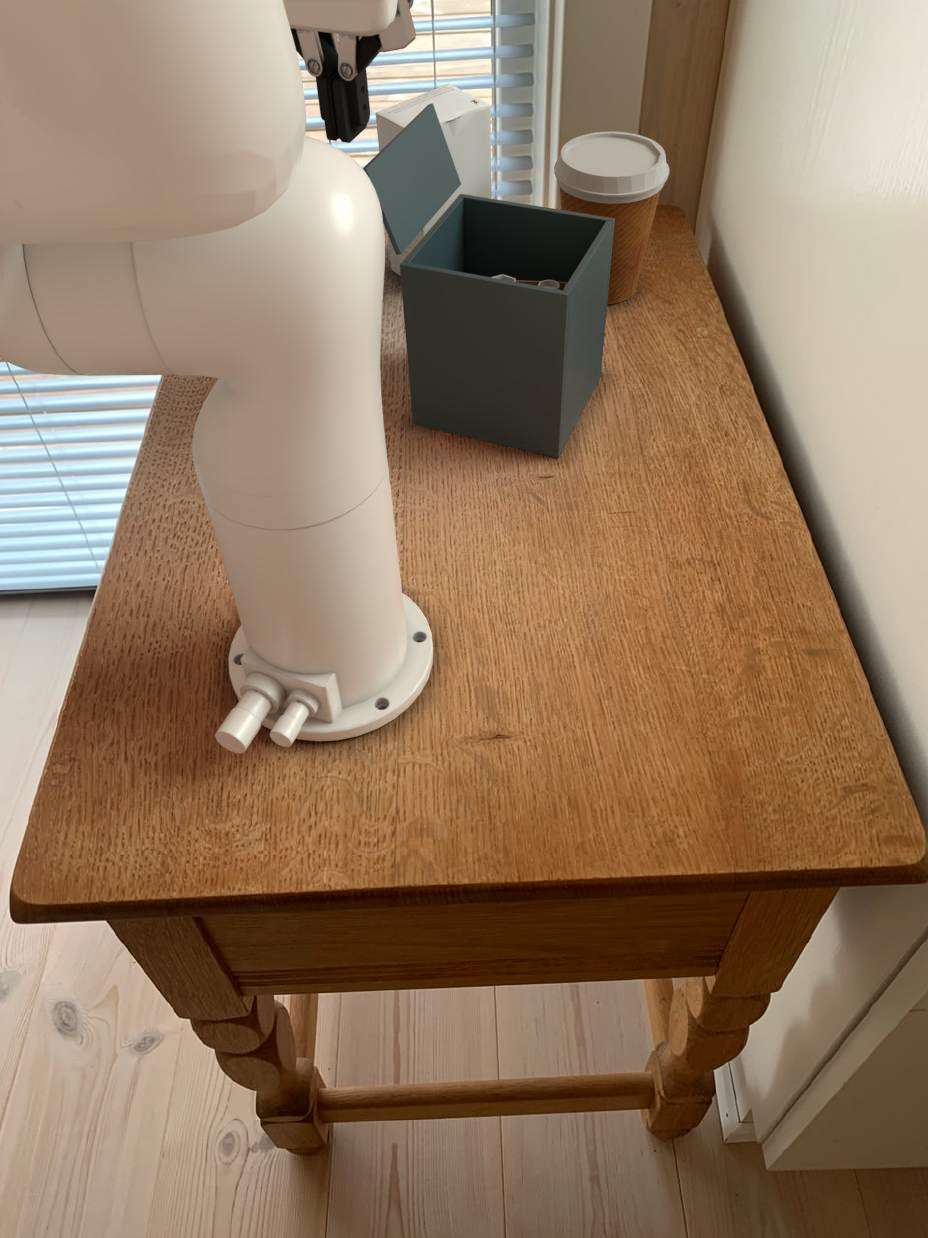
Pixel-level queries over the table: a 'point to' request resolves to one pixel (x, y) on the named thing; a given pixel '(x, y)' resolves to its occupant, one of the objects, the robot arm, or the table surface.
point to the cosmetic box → (465, 139)
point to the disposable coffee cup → (615, 195)
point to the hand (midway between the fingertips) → (347, 132)
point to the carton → (506, 321)
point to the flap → (413, 177)
